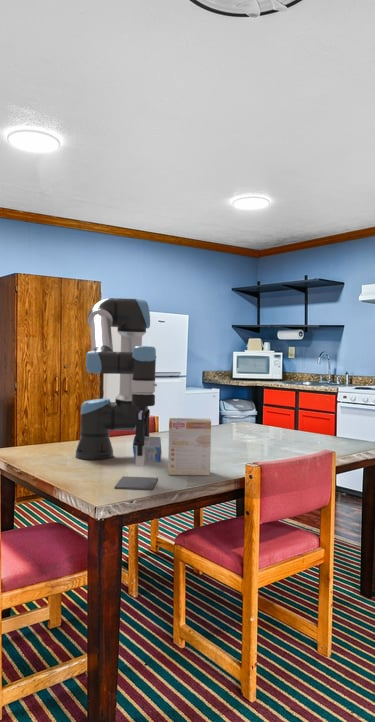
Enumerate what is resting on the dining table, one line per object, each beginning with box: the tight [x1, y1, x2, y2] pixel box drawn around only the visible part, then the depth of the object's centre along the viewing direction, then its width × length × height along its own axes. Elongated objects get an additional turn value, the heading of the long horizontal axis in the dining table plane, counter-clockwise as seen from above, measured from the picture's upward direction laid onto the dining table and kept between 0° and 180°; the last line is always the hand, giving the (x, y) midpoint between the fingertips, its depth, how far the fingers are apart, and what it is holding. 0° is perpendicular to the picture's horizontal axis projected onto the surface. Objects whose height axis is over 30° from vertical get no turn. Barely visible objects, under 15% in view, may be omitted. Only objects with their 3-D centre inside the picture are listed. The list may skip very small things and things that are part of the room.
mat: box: [114, 475, 159, 491], centre depth 172 cm, size 14×12×1 cm
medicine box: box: [132, 436, 163, 463], centre depth 172 cm, size 8×4×9 cm
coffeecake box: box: [167, 417, 212, 476], centre depth 189 cm, size 15×7×20 cm, turn 92°
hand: (141, 462), depth 172 cm, fingers closed on medicine box, 8 cm apart
